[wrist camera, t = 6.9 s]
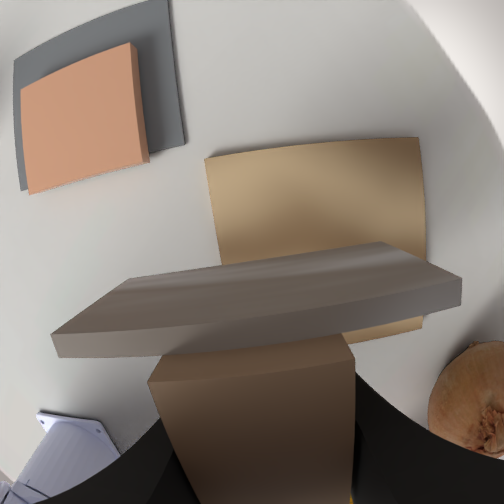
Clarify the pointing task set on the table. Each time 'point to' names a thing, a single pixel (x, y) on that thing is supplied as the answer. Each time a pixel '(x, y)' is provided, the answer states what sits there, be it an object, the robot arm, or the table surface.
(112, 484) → the robot arm
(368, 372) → the table surface
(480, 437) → the onion
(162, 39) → the slate mat
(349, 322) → the brown grey t-shaped block
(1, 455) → the table surface
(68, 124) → the tile
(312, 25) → the table surface
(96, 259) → the table surface
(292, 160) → the oak board
